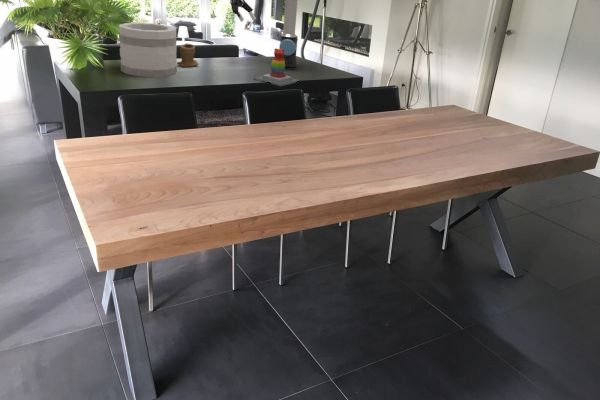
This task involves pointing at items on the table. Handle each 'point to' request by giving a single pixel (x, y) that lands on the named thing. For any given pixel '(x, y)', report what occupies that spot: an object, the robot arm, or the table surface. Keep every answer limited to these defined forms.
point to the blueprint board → (277, 80)
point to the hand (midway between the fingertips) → (248, 20)
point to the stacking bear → (278, 64)
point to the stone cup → (187, 55)
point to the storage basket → (148, 49)
